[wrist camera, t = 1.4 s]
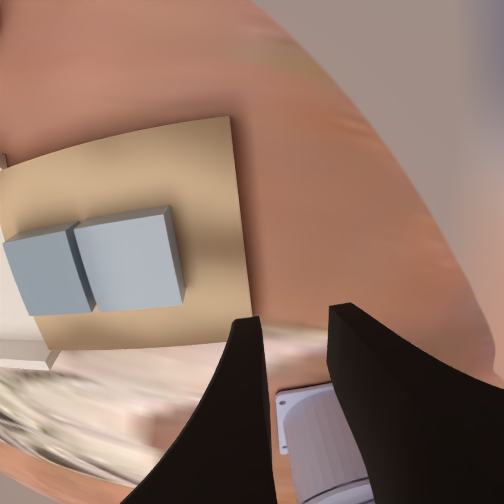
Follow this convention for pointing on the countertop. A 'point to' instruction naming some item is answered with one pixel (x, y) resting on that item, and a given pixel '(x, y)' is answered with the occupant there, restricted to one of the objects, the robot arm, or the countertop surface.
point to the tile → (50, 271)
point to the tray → (18, 322)
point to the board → (136, 198)
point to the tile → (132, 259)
